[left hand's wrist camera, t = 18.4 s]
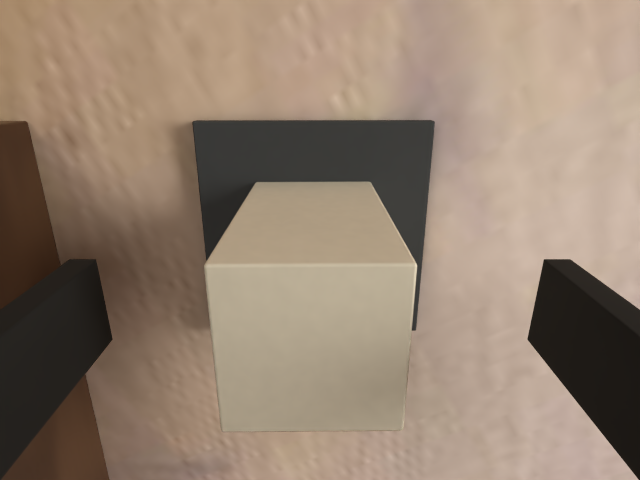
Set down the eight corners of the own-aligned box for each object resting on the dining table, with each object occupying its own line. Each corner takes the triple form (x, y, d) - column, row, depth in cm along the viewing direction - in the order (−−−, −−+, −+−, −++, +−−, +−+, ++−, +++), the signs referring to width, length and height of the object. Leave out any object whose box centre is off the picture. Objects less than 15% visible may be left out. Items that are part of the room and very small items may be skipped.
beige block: (255, 181, 18) (202, 264, 10) (371, 180, 18) (418, 263, 10) (261, 286, 20) (220, 433, 11) (366, 285, 20) (403, 432, 12)
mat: (195, 120, 18) (191, 121, 17) (432, 120, 18) (435, 121, 17) (215, 326, 21) (213, 331, 21) (413, 325, 21) (416, 330, 21)
